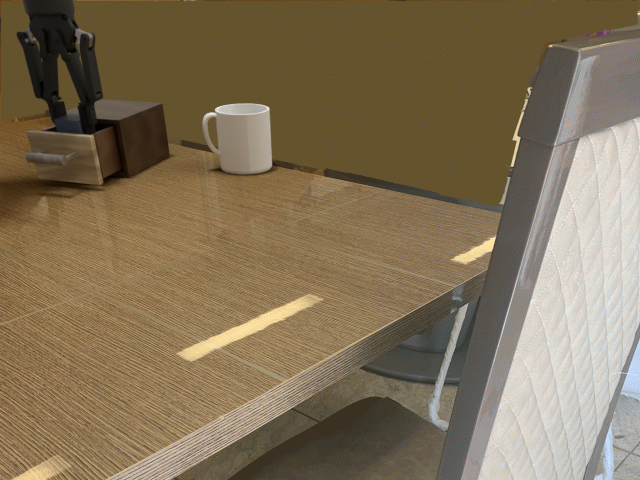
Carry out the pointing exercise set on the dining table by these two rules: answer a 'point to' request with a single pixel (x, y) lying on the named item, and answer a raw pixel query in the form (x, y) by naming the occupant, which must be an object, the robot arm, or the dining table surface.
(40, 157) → the drawer
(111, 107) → the cabinet
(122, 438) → the dining table surface
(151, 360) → the dining table surface
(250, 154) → the mug
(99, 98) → the robot arm
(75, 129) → the block
